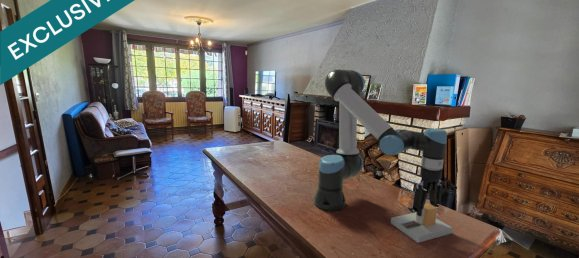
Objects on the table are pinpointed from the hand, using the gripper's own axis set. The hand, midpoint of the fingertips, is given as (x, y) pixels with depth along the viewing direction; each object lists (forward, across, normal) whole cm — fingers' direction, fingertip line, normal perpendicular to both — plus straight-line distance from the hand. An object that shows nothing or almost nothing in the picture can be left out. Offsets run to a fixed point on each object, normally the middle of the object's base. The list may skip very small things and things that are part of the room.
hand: (424, 221), depth 103 cm
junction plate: (+3, -2, 0) cm, 3 cm away
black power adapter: (+4, +8, +10) cm, 14 cm away
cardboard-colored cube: (0, 0, 0) cm, 0 cm away
